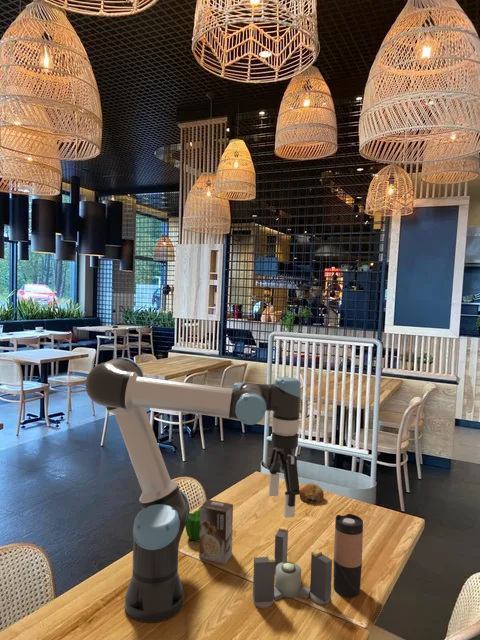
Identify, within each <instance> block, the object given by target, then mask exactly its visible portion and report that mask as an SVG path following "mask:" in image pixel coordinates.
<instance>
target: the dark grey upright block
mask: <svg viewBox="0 0 480 640" xmlns="http://www.w3.org/2000/svg"><path fill="white" fill-rule="evenodd" d="M252 577H253V579H252V580H253V581H252V582H253V583H252V599H253V601H252V602H253V605H254V606H256V608H259V609H269V608H271V607H272V605H273V603H274V602H275V600H274V588H275V578H276V574H275V554H267V556H261V557H260V556H259V557H258V556H257V557H253V576H252Z"/></svg>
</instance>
